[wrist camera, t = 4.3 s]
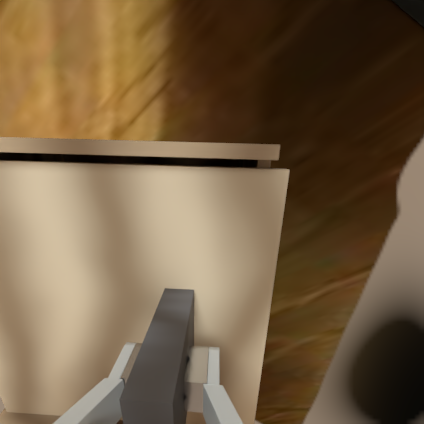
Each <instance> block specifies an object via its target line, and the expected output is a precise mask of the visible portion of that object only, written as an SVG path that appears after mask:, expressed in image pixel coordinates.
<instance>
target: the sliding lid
mask: <svg viewBox="0 0 424 424" xmlns="http://www.w3.org/2000/svg"><path fill="white" fill-rule="evenodd" d="M289 172H290V170H289V169H281V168H248V167H216V166H183V165H150V164H117V163H84V162H51V161H18V160H0V397H1V399H2V401H3V404H4V406H5V409H6V411H7V412H14V413H28V414H42V415H56V416H62V415H63V414H64V413H65V412H67V411H68V410H69V409H70V408H71V407H72V406H73V405H74V404H76V403H77V402H78V401H79V400H80V399H81V398H82V397H84V396H85V395H86V394H87V393H88V392H89V391H90V390H92V389H93V388H94V387H95V386H96V385H97V384H98V383H99V382H101V381H102V380H103V379H104V378H108V377H109V375H110V373H111V371H112V369H113V367H114V365H115V363H116V361H117V359H118V357H119V355H120V353H121V351H122V349H123V347H124V345H125V344H126V343H127V342H133V343H142V345H141V348H140V350H139V353H138V355H137V357H136V360H135V362H134V365H133V367H132V370H131V372H130V375H129V377H128V379H127V382H126V384H125V387H124V389H123V392H122V394H121V397H120V399H119V401H120V407H121V413H122V417H121V418H120V420H123V424H206V422H205V419H204V416H203V413H199V412H189V411H184V395H185V394H184V391H183V381H184V374H185V368H186V364H187V363H188V349H189V346H209V347H219V349H220V385H223V386H224V388H225V390H226V392H227V394H228V396H229V398H230V400H231V402H232V403H233V405H234V407H235V409H236V411H237V413H238V415H239V417H240V419H241V420H242V422H243V424H254V421H255V414H256V407H257V400H258V393H259V386H260V378H261V371H262V364H263V357H264V350H265V343H266V336H267V329H268V321H269V314H270V307H271V300H272V293H273V286H274V279H275V271H276V264H277V257H278V250H279V243H280V236H281V229H282V222H283V214H284V207H285V200H286V193H287V186H288V179H289Z"/></svg>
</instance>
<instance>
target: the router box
mask: <svg viewBox="0 0 424 424" xmlns="http://www.w3.org/2000/svg"><path fill="white" fill-rule="evenodd" d="M392 1H394V2H395V3H396V4H397V5H398V6H399V7H400V8H401V9H402V10H404V11H405V12H406V13H408V14H409V15H410V16H411V17H413V18H414V19H415V20H416V21H417V22H418V23H419V24H420V25H422V26H423V27H424V0H392Z"/></svg>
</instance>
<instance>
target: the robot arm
mask: <svg viewBox="0 0 424 424" xmlns="http://www.w3.org/2000/svg"><path fill="white" fill-rule="evenodd" d="M141 345H142V343H133V342H127V343H126V344H125V345H124V347H123V349H122V351H121V353H120V355H119V357H118V359H117V361H116V363H115V365H114V367H113V369H112V371H111V373H110V375H109V377H108V378H104V379H103V380H102V381H101V382H99V383H98V384H97V385H96V386H95V387H94V388H93V389H92V390H90V391H89V392H88V393H87V394H86V395H85V396H84V397H82V398H81V399H80V400H79V401H78V402H77V403H76V404H74V405H73V406H72V407H71V408H70V409H69V410H68V411H67V412H65V413H64V414H63V415H62V416H61V417H60V418H59V419H57V420H56V421H55V422H54V423H53V424H117V422H118V421H119V420H120V418H121V417H122V413H121V407H120V401H119V399H120V397H121V394H122V392H123V389H124V387H125V384H126V382H127V379H128V377H129V375H130V372H131V370H132V367H133V365H134V362H135V360H136V357H137V355H138V353H139V350H140V348H141ZM183 391H184V394H185V395H184V411H189V412H199V413H203V416H204V419H205V422H206V424H243V422H242V420H241V419H240V417H239V415H238V413H237V411H236V409H235V407H234V405H233V403H232V402H231V400H230V398H229V396H228V394H227V392H226V390H225V388H224V386H223V385H220V349H219V347H209V346H189V349H188V363H187V364H186V368H185V374H184V381H183Z"/></svg>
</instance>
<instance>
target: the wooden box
mask: <svg viewBox="0 0 424 424" xmlns="http://www.w3.org/2000/svg"><path fill="white" fill-rule="evenodd" d="M279 152H280V145H278V144H241V143H203V142H166V141H128V140H91V139H53V138H16V137H0V160H18V161H51V162H84V163H117V164H150V165H183V166H216V167H248V168H270V165H271V160H279ZM60 417H61V416H56V415H42V414H28V413H14V412H7V411H6V409H4V410H3V411H2V412H1V414H0V424H53V423H54V422H55V421H56V420H57V419H59V418H60ZM117 424H123V420H119V421H118V422H117Z"/></svg>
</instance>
